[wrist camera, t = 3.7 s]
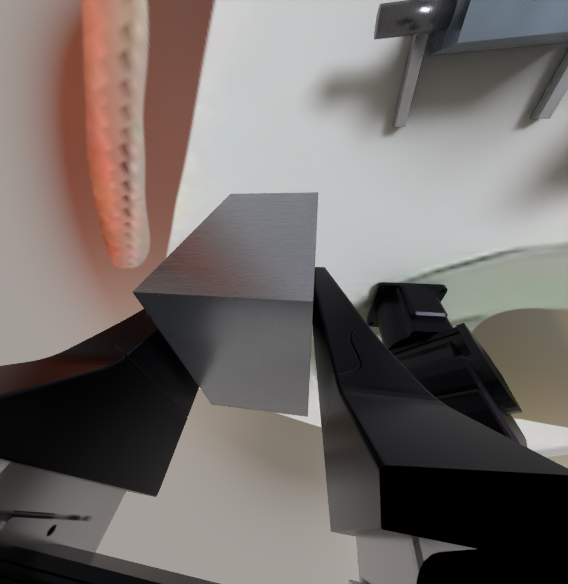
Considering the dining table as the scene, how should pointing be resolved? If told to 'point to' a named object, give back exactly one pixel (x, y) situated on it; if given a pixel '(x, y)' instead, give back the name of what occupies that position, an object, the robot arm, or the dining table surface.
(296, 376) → the steel block
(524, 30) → the block
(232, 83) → the dining table surface
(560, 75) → the vise bed
